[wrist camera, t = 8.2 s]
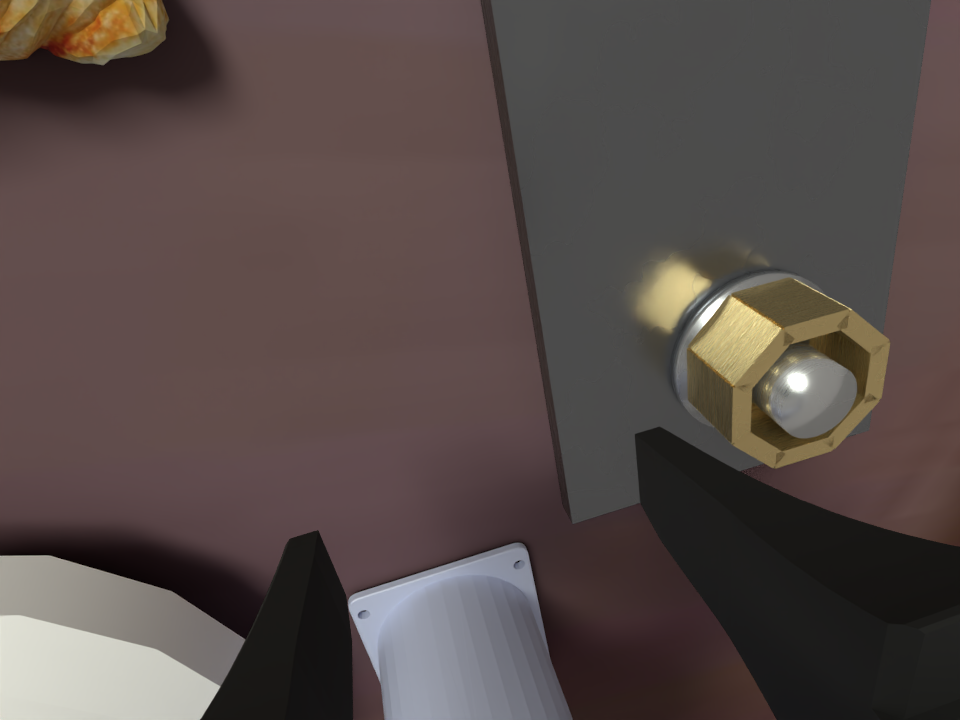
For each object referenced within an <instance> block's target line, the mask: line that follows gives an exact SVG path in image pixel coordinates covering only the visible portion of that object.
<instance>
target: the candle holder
mask: <svg viewBox="0 0 960 720" xmlns="http://www.w3.org/2000/svg"><path fill="white" fill-rule="evenodd" d="M244 642H245V639H244V638H242V637H241V636H239V635H238V634H236V633H235V632H233V631H232V630H230V629H229V628H227V627H226V626H224V625H223V624H221V623H220V622H218V621H216V620H215V619H213V618H212V617H210V616H209V615H207V614H206V613H204V612H203V611H201V610H200V609H198V608H197V607H195V606H194V605H192V604H191V603H189V602H187V601H186V600H184V599H183V598H181V597H180V596H178V595H177V594H175V593H174V592H172V591H170V590H166V589H163V588H159V587H156V586H152V585H149V584H146V583H142V582H139V581H135V580H132V579H128V578H125V577H122V576H118V575H115V574H111V573H108V572H104V571H101V570H98V569H94V568H91V567H87V566H84V565H80V564H77V563H74V562H70V561H67V560H63V559H60V558H56V557H53V556H50V555H40V556H0V720H200V719H201V718H202V716H203V714H204V713H205V711H206V710H207V708H208V706H209V705H210V703H211V701H212V700H213V698H214V697H215V695H216V693H217V692H218V690H219V688H220V686H221V685H222V683H223V681H224V679H225V678H226V676H227V674H228V672H229V671H230V669H231V667H232V665H233V663H234V661H235V659H236V657H237V655H238V653H239V651H240V649H241V647H242V645H243V644H244Z"/></svg>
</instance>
